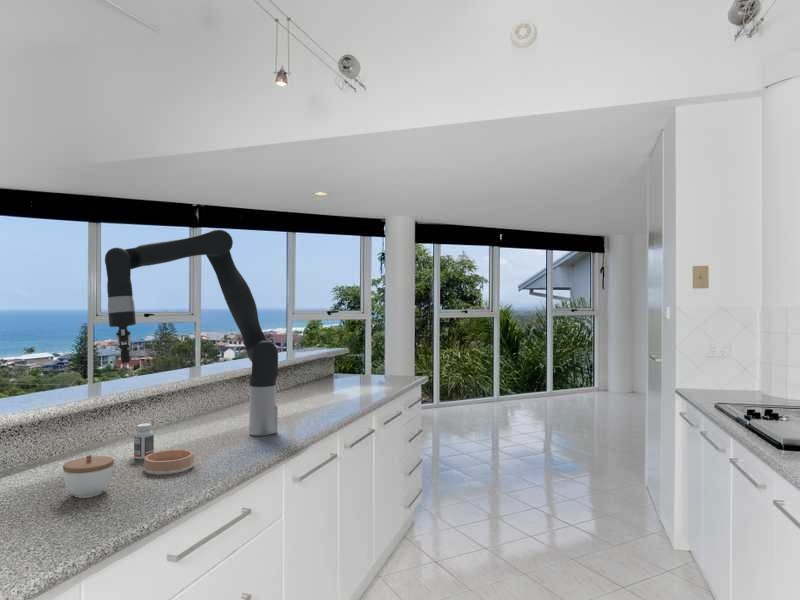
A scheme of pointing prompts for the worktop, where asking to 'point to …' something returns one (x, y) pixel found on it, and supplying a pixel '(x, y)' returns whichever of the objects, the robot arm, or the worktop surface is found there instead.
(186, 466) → the bowl
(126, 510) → the worktop surface
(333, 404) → the worktop surface
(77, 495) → the lidded jar
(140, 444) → the pill bottle
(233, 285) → the robot arm
